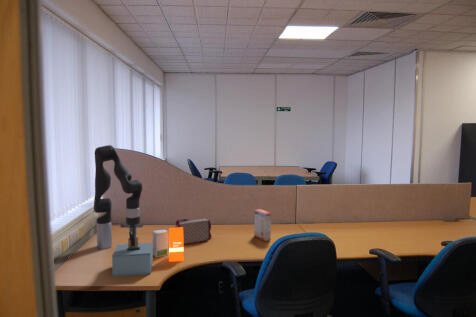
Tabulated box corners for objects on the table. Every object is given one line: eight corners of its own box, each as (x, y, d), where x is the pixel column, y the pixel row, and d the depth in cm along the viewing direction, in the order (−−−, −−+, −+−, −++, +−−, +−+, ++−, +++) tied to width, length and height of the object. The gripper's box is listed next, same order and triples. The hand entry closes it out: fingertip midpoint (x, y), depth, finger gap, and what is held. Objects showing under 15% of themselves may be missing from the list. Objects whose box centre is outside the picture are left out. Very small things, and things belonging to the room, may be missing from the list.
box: (117, 264, 185) (117, 244, 184) (152, 262, 189) (152, 243, 188) (112, 276, 170) (112, 255, 169) (150, 274, 174) (150, 253, 173)
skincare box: (155, 258, 196) (155, 233, 194) (152, 254, 201) (151, 231, 200) (168, 255, 201) (168, 231, 199) (164, 251, 206) (164, 228, 205)
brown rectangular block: (129, 246, 179) (128, 237, 179) (138, 245, 180) (138, 237, 180) (128, 248, 176) (128, 239, 176) (137, 247, 177) (137, 238, 177)
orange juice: (168, 256, 198) (168, 226, 196) (182, 255, 200) (182, 225, 198) (169, 261, 190) (168, 229, 188) (183, 260, 192) (183, 229, 190)
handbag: (208, 236, 239) (209, 213, 237) (214, 240, 230) (215, 217, 228) (173, 241, 225) (173, 218, 223) (178, 246, 216) (178, 222, 214)
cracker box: (270, 240, 231) (271, 212, 229) (264, 241, 228) (264, 213, 226) (260, 234, 243) (261, 208, 242) (253, 235, 240) (254, 209, 239)
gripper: (127, 212, 183) (128, 241, 184) (123, 219, 169) (124, 250, 171) (141, 212, 184) (141, 240, 186) (138, 218, 171) (138, 249, 172)
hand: (133, 244), depth 178 cm, fingers closed on brown rectangular block, 2 cm apart
